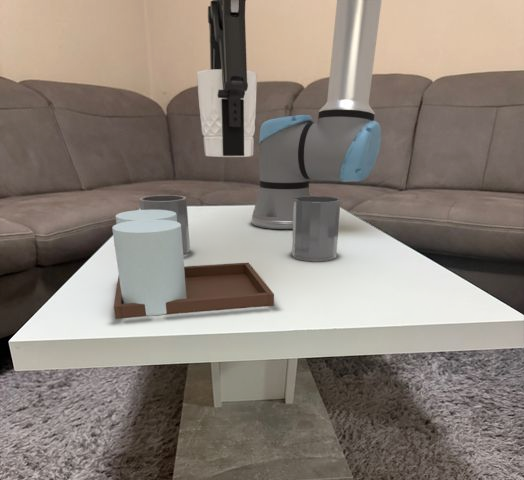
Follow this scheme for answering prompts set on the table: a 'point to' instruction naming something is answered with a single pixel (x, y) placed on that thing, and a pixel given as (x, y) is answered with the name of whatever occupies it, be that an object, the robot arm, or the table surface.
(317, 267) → the table surface
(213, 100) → the white cup
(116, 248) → the pale blue cylinder
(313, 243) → the grey cup
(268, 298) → the tray
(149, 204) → the grey cup
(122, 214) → the blue round block
